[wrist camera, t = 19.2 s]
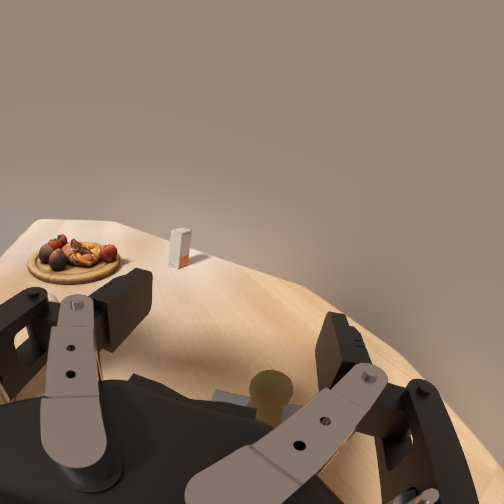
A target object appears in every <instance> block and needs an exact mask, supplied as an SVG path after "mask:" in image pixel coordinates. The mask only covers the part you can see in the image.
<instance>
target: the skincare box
mask: <svg viewBox="0 0 504 504" xmlns="http://www.w3.org/2000/svg"><path fill="white" fill-rule="evenodd" d="M191 233H192V230H189V229H186V228H177V229H174V230H172V231H171V240H170V250H169V261H168V265H169V266H171V267H174V268H177V269H179V268H181V267H183V266H185V265H187V264H188V258H189V250H190V242H191Z"/></svg>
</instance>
